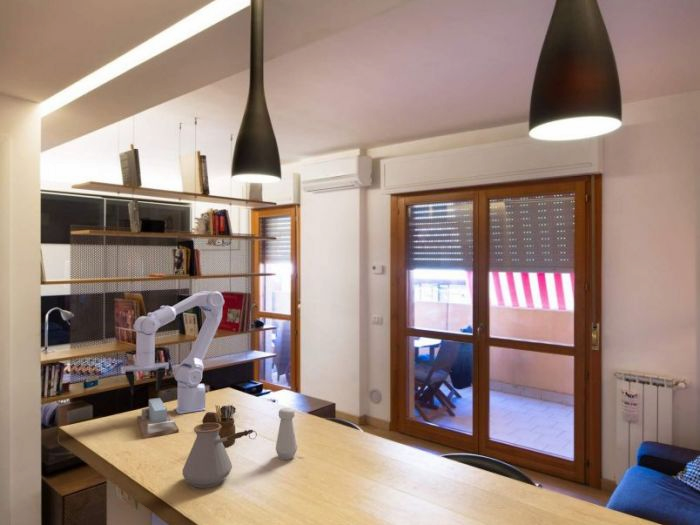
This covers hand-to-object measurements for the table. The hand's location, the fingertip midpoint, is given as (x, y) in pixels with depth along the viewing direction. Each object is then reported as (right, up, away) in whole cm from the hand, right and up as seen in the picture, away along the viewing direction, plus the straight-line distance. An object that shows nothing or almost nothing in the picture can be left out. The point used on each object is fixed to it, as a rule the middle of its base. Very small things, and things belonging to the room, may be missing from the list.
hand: (145, 392), depth 155 cm
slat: (+6, -8, -5) cm, 12 cm away
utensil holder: (+33, -9, -21) cm, 40 cm away
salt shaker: (+52, -9, -30) cm, 61 cm away
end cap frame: (+6, -9, -5) cm, 12 cm away
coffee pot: (+39, -9, -47) cm, 61 cm away
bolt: (+26, -10, -1) cm, 28 cm away
